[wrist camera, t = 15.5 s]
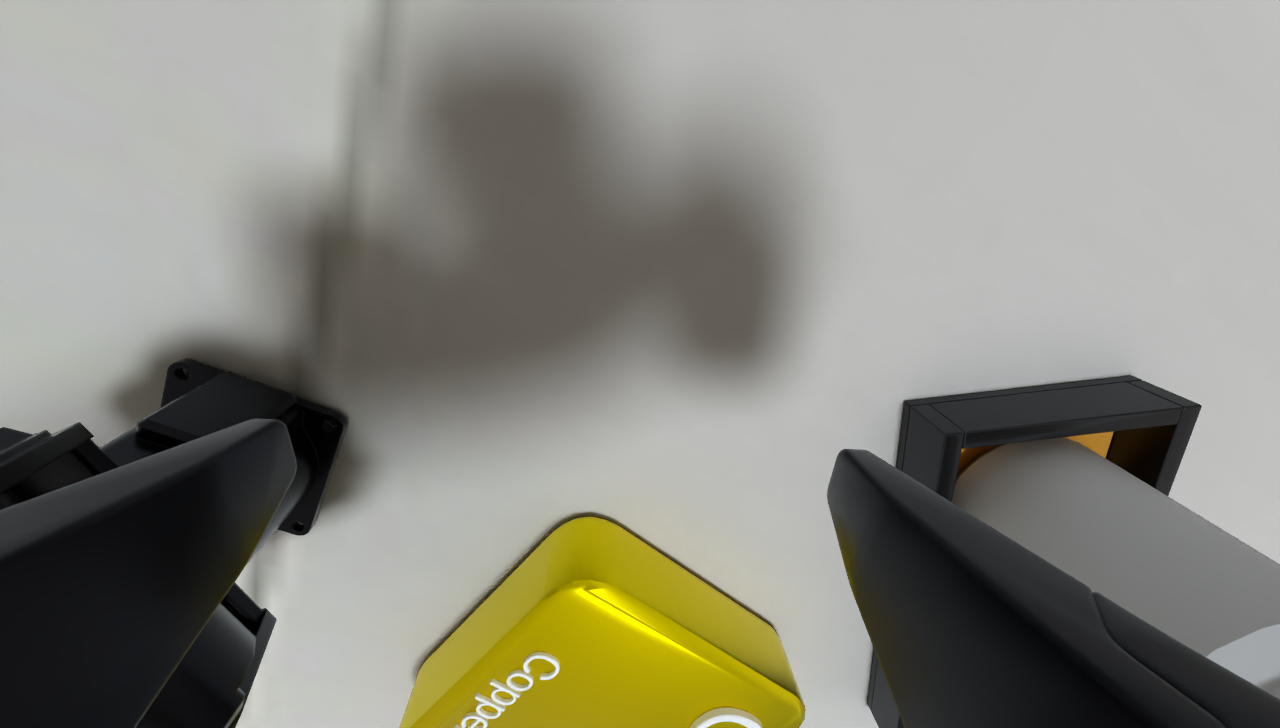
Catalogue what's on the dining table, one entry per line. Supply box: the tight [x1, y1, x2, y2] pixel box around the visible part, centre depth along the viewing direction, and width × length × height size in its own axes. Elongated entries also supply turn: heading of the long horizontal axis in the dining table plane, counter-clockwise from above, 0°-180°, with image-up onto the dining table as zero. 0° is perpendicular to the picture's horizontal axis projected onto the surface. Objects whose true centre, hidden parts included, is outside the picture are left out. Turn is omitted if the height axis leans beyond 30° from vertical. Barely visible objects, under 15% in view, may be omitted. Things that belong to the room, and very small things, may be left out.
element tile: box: [399, 516, 805, 728], centre depth 26 cm, size 15×15×5 cm
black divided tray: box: [867, 376, 1201, 728], centre depth 26 cm, size 11×20×3 cm, turn 5°
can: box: [952, 437, 1280, 699], centre depth 19 cm, size 8×8×12 cm
